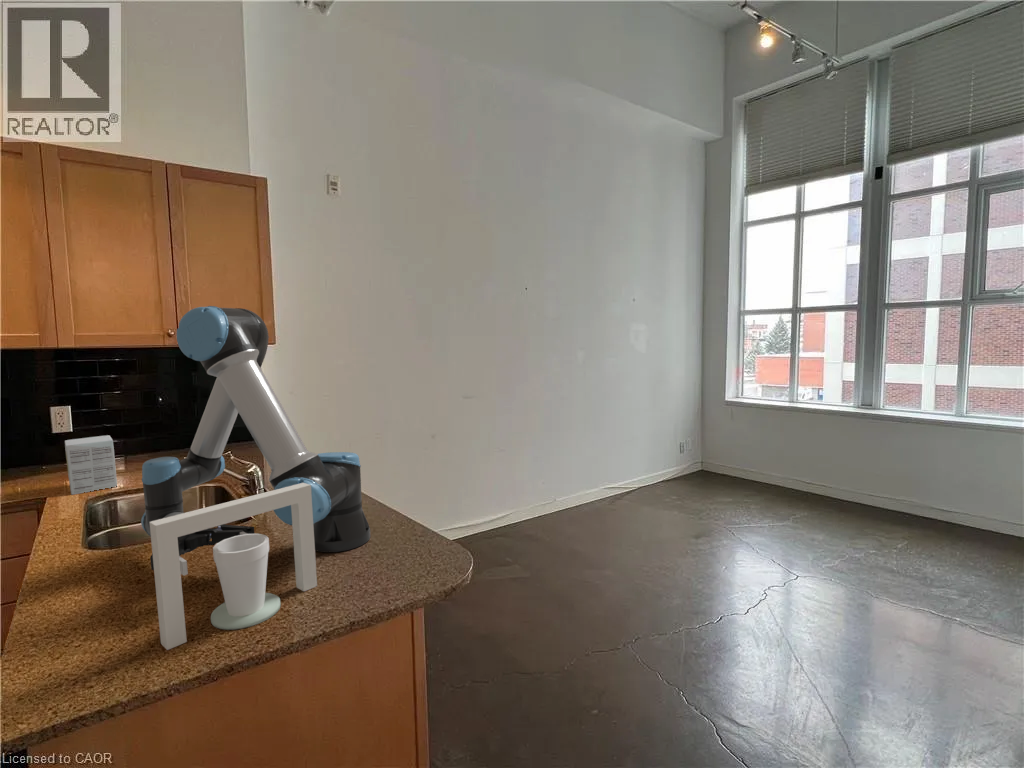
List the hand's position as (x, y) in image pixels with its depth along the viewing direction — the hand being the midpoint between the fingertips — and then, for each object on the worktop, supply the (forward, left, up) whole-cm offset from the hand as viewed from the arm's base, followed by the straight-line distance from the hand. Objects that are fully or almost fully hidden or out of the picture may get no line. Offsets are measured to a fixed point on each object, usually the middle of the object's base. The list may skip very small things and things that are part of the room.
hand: (222, 556), depth 106 cm
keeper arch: (0, +9, -9) cm, 13 cm away
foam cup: (0, +9, -8) cm, 12 cm away
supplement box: (-6, -124, -9) cm, 124 cm away
